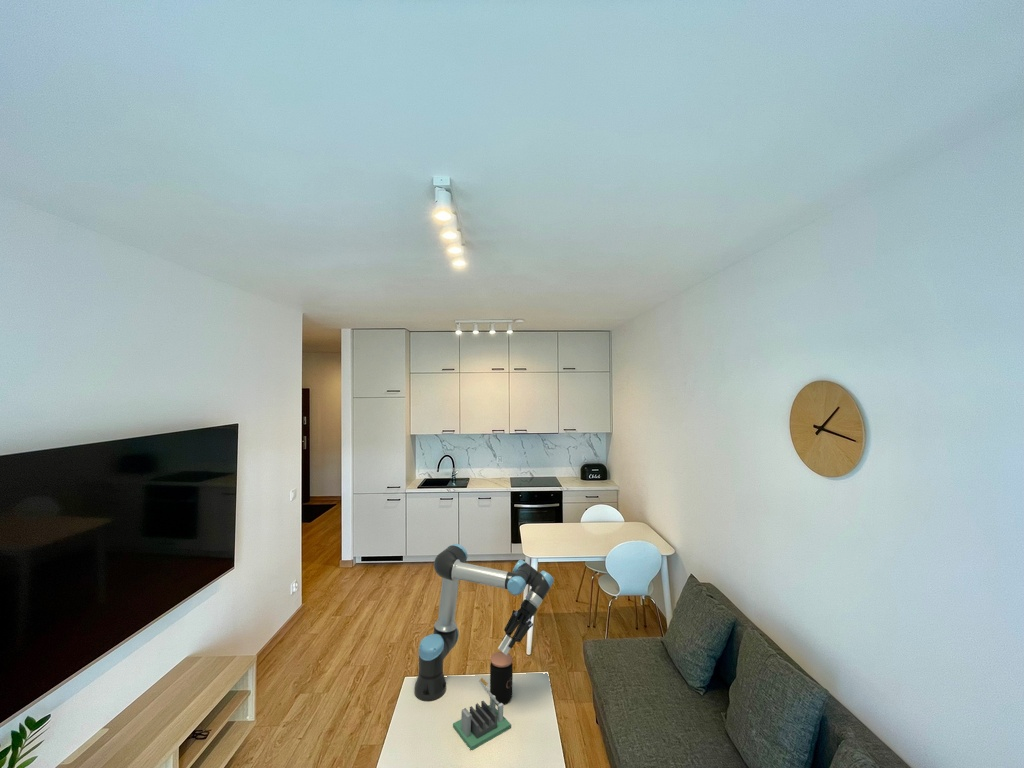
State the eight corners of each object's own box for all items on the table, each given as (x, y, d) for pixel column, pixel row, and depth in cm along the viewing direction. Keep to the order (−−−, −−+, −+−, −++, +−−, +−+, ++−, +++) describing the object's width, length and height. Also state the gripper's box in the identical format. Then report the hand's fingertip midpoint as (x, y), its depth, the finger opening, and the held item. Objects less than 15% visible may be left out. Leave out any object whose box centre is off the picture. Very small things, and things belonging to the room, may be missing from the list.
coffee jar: (509, 707, 188) (510, 667, 189) (487, 703, 190) (487, 663, 191) (514, 691, 198) (514, 653, 199) (492, 688, 200) (493, 650, 201)
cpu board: (452, 727, 176) (453, 704, 177) (491, 707, 188) (492, 685, 189) (470, 750, 164) (471, 726, 165) (511, 728, 176) (511, 705, 176)
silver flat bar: (478, 681, 178) (481, 677, 179) (493, 702, 182) (497, 697, 183) (483, 687, 175) (486, 682, 176) (498, 707, 179) (502, 703, 180)
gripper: (546, 614, 189) (517, 664, 179) (525, 601, 202) (497, 647, 191) (537, 606, 186) (507, 656, 176) (516, 593, 199) (487, 639, 188)
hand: (502, 651), depth 183 cm, fingers open, 3 cm apart
